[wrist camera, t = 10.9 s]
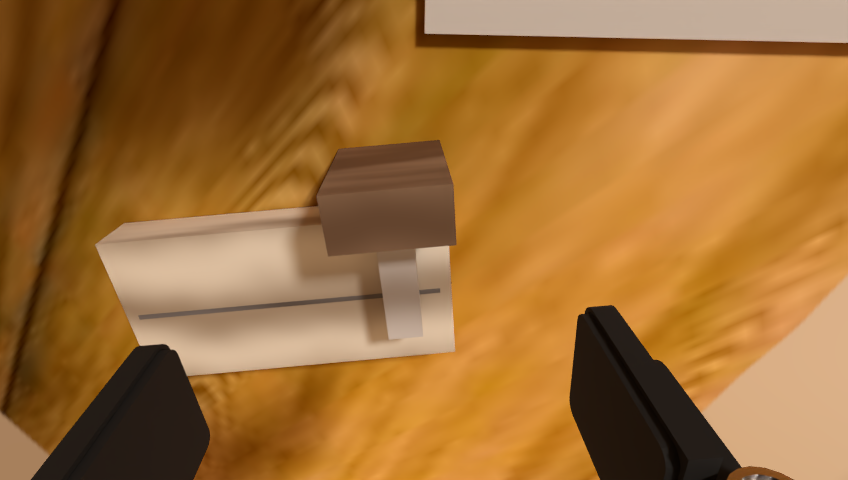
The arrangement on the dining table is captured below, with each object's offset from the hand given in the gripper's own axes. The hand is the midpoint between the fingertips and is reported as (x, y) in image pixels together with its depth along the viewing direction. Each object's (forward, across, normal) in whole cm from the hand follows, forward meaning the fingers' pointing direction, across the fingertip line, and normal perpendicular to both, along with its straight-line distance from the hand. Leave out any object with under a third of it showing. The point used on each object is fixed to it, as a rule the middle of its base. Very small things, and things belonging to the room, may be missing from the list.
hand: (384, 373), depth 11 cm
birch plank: (+18, +7, +8) cm, 21 cm away
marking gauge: (+18, 0, +4) cm, 19 cm away
